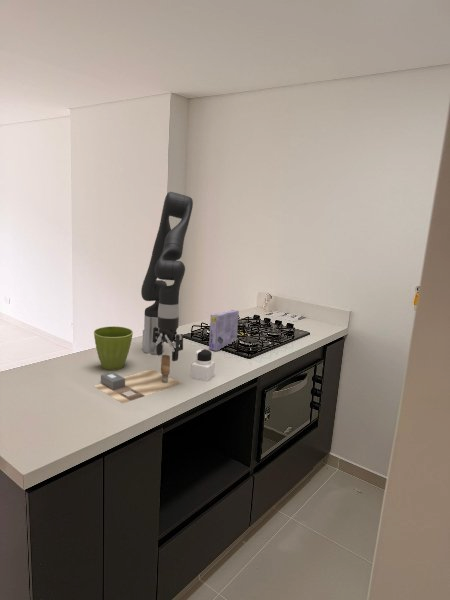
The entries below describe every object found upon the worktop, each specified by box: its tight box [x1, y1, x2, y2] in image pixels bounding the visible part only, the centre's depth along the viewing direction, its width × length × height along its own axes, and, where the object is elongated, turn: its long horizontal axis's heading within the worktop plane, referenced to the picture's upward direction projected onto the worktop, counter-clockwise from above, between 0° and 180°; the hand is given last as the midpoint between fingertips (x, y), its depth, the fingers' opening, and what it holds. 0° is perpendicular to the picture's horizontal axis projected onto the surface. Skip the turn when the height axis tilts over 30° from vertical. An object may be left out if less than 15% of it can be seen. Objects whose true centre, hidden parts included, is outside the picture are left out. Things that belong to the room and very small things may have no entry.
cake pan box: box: [208, 309, 240, 352], centre depth 205 cm, size 19×5×18 cm, turn 144°
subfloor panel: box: [93, 368, 182, 404], centre depth 152 cm, size 18×26×2 cm
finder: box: [100, 371, 125, 390], centre depth 150 cm, size 8×5×3 cm, turn 46°
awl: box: [160, 354, 171, 383], centre depth 155 cm, size 3×3×10 cm
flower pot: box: [93, 326, 134, 371], centre depth 166 cm, size 15×15×16 cm
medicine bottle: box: [190, 348, 216, 382], centre depth 163 cm, size 7×7×12 cm
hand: (166, 357), depth 154 cm, fingers open, 8 cm apart
